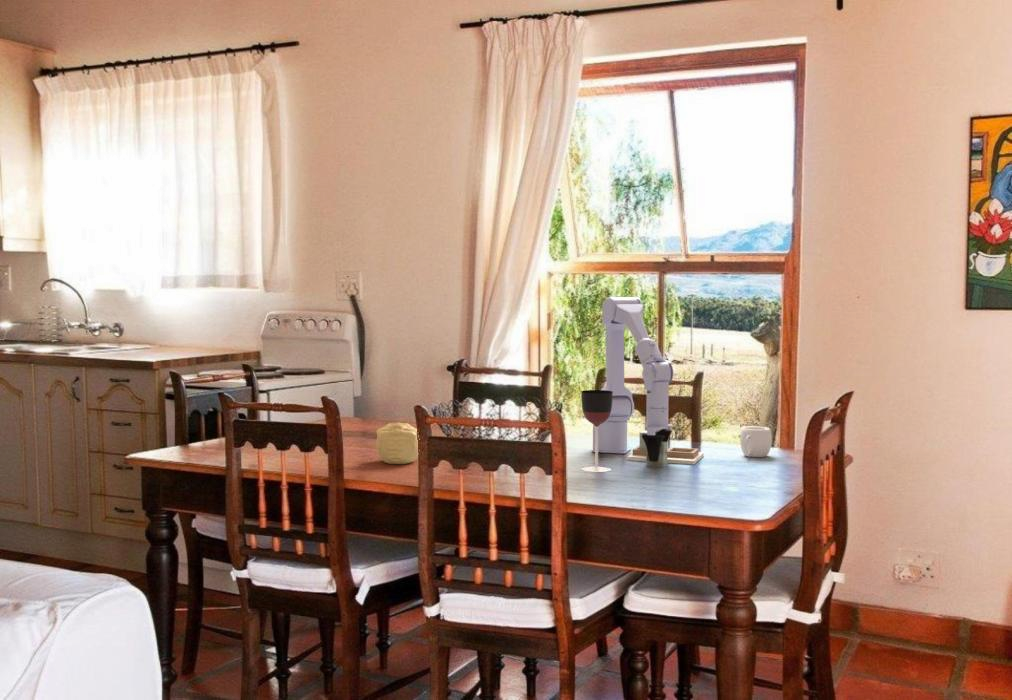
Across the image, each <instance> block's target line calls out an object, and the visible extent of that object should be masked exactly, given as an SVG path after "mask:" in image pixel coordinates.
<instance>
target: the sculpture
mask: <svg viewBox="0 0 1012 700" xmlns="http://www.w3.org/2000/svg"><path fill="white" fill-rule="evenodd" d="M417 429H418V428H416V427H414V426H412V425H410V423H407V422H404V423H402V422H399V421H398V422H393V423H392V422H391V423H390V422H388V423H387V424H385V425H384V426H382V427H379V428H377V429H376V431H375V433H376V437H377V438H376V440H375V442H376V443H375V445H376V450H377V453H378V457H379V459H380V460H381V461H383V462H384V463H385V464H390V465H406V464H410V463H412V462H414V461H415V460H416V459H417V457H418V455H419V453H418V440H417Z"/></svg>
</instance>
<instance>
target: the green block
mask: <svg viewBox="0 0 1012 700" xmlns="http://www.w3.org/2000/svg"><path fill="white" fill-rule="evenodd" d="M667 450H668V442H662V443H661V447H660V453H659V459H658V461H657V462H653V461H649V457H648V452H647V454H646V461H645V462H646V464H645V466H646V467H655V466H656V468H657V467H658V468H665V466H666V465H668V463H667Z"/></svg>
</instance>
